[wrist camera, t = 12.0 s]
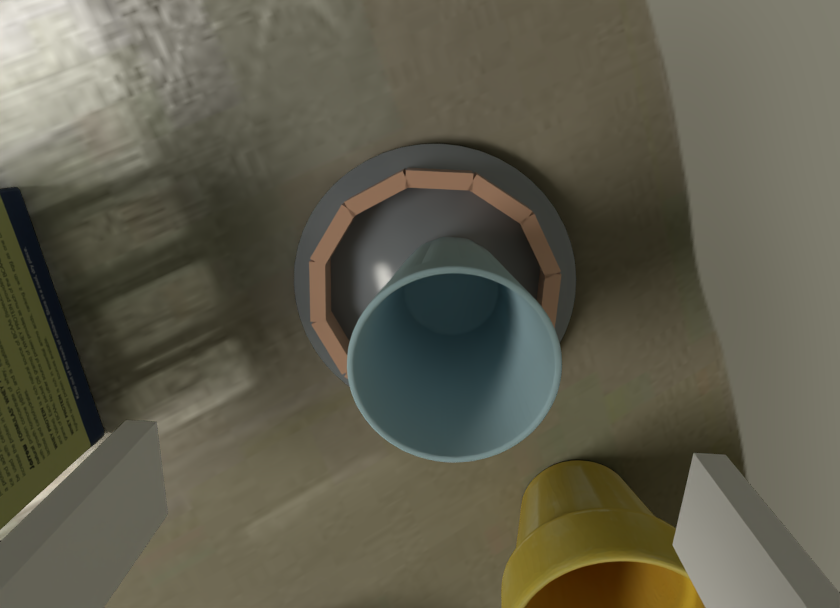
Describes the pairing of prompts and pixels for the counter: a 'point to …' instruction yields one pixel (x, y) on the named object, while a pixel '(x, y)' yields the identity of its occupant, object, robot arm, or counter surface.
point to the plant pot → (592, 546)
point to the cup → (454, 356)
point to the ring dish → (423, 236)
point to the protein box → (35, 370)
